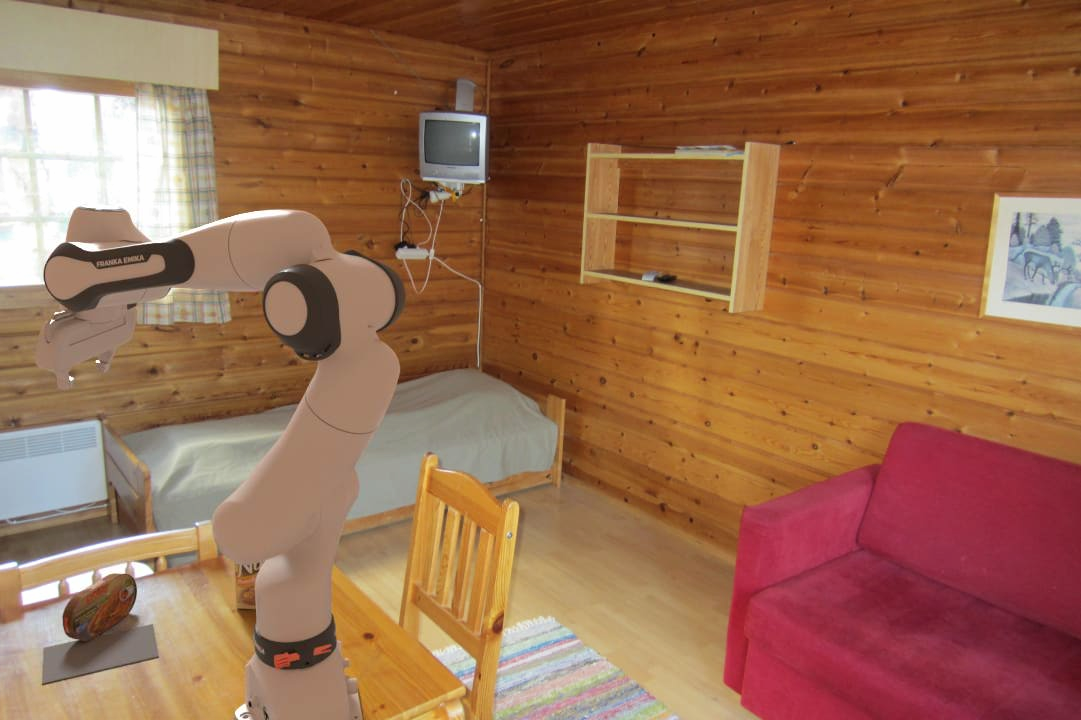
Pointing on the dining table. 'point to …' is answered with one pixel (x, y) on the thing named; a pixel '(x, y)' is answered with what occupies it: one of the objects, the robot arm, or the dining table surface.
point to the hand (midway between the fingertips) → (83, 379)
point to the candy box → (246, 584)
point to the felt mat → (98, 653)
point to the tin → (99, 606)
